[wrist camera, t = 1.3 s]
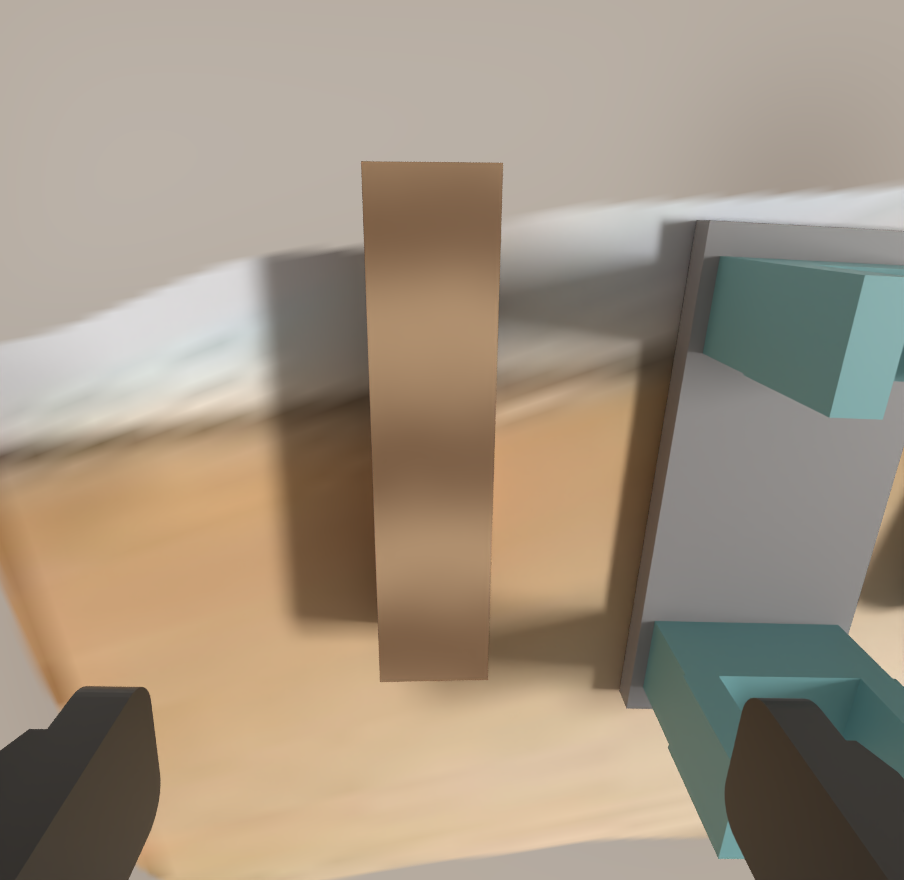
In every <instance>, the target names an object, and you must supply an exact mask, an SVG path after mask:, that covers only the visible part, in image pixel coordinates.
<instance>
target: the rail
mask: <svg viewBox="0 0 904 880" xmlns="http://www.w3.org/2000/svg"><path fill="white" fill-rule="evenodd" d="M361 169H362V197H363V226H364V253H365V281H366V308H367V336H368V363H369V391H370V418H371V446H372V473H373V501H374V528H375V556H376V583H377V611H378V638H379V666H380V682H402V681H451V680H488V649H489V615H490V582H491V549H492V515H493V482H494V448H495V415H496V381H497V348H498V314H499V281H500V248H501V213H502V180H503V163H466V162H460V163H459V162H370V161H362V162H361Z"/></svg>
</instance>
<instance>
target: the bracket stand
mask: <svg viewBox="0 0 904 880" xmlns="http://www.w3.org/2000/svg"><path fill="white" fill-rule="evenodd" d="M903 447H904V231H895V230H876V229H858V228H839V227H821V226H803V225H784V224H766V223H747V222H729V221H711V220H697V222H696V228H695V234H694V240H693V246H692V252H691V258H690V264H689V270H688V276H687V282H686V288H685V295H684V301H683V307H682V313H681V319H680V325H679V331H678V337H677V343H676V349H675V355H674V361H673V368H672V374H671V380H670V386H669V392H668V398H667V404H666V410H665V416H664V422H663V428H662V434H661V440H660V447H659V453H658V459H657V465H656V471H655V477H654V483H653V489H652V495H651V501H650V507H649V513H648V520H647V526H646V532H645V538H644V544H643V550H642V556H641V562H640V568H639V574H638V580H637V586H636V592H635V599H634V605H633V611H632V617H631V623H630V629H629V635H628V641H627V647H626V653H625V659H624V665H623V672H622V678H621V684H620V690H619V691H620V693H621V696H622V698H623V701H624V703H625V706H626V708H636V709H653V710H654V712H655V715H656V717H657V719H658V721H659V723H660V725H661V728H662V730H663V732H664V734H665V736H666V738H667V741H668V743H669V746H668V749H669V751H670V753H671V756H672V758H673V760H674V762H675V764H676V767H677V769H678V771H679V773H680V775H681V778H682V780H683V782H684V784H685V786H686V789H687V791H688V793H689V795H690V797H691V799H692V802H693V804H694V806H695V808H696V810H697V813H698V815H699V817H700V819H701V821H702V824H703V826H704V828H705V830H706V832H707V835H708V837H709V839H710V841H711V843H712V845H713V848H714V850H715V852H716V854H717V857H718V859H745V858H744V856H743V854H742V852H741V850H740V848H739V846H738V844H737V842H736V840H735V838H734V836H733V834H732V831H731V828H730V825H729V822H728V818H727V813H726V807H725V794H724V791H725V782H726V778H727V773H728V769H729V765H730V760H731V756H732V752H733V748H734V743H735V739H736V735H737V730H738V726H739V722H740V718H741V713H742V710H743V707H744V705H745V703H746V702H747V700H749V699H750V698H804V699H809V700H811V701H813V702H814V703H815V704H816V705H817V706H818V707H819V708H820V709H821V710H822V711H823V713H824V714H825V715H826V716H827V718H828V719H829V720H830V721H831V722H832V724H833V725H834V726H835V727H836V729H837V730H838V731H839V732H840V734H841V735H842V736H843V737H844V739H845V740H856V741H857V742H859V743H860V744H861V745H863V746H864V747H865V748H867V749H868V750H869V751H871V752H872V753H873V754H875V755H876V756H877V757H879V758H880V759H881V760H883V761H884V762H885V763H886V764H888V765H889V766H890V767H892V768H893V769H894V770H896V771H897V772H898V773H899V774H900V775H901V776H902V777H903V778H904V687H903V686H902V685H901V684H900V683H899V682H898V681H897V680H896V679H892V678H891V677H890V676H889V675H888V674H887V673H886V672H885V671H884V670H883V669H882V668H881V667H880V666H879V665H878V664H877V663H876V662H875V661H874V660H873V659H872V658H871V657H870V656H869V655H868V654H867V653H866V652H865V651H864V650H863V649H862V648H861V647H860V646H859V645H858V644H857V643H856V642H855V641H854V640H853V639H852V638H851V637H850V636H849V635H848V633H849V630H850V627H851V623H852V620H853V617H854V613H855V610H856V606H857V603H858V600H859V596H860V593H861V589H862V586H863V583H864V579H865V576H866V572H867V569H868V566H869V562H870V559H871V556H872V552H873V549H874V545H875V542H876V539H877V535H878V532H879V528H880V525H881V522H882V518H883V515H884V511H885V508H886V505H887V501H888V498H889V495H890V491H891V488H892V484H893V481H894V478H895V474H896V471H897V467H898V464H899V461H900V457H901V454H902V450H903Z"/></svg>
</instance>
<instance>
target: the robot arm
mask: <svg viewBox="0 0 904 880" xmlns="http://www.w3.org/2000/svg"><path fill="white" fill-rule="evenodd" d="M724 794H725V807H726V813H727V818H728V822H729V825H730V828H731V831H732V834H733V836H734V838H735V840H736V842H737V844H738V846H739V848H740V850H741V852H742V854H743V856H744V858H745V860H746V862H747V864H748V866H749V868H750V870H751V872H752V874H753V876H754V878H755V880H904V778H903V777H902V776H901V775H900V774H899V773H898V772H897V771H896V770H894V769H893V768H892V767H890V766H889V765H888V764H886V763H885V762H884V761H883V760H881V759H880V758H879V757H877V756H876V755H875V754H873V753H872V752H871V751H869V750H868V749H867V748H865V747H864V746H863V745H861V744H860V743H859V742H857V741H856V740H845V739H844V737H843V736H842V735H841V734H840V732H839V731H838V730H837V729H836V727H835V726H834V725H833V724H832V722H831V721H830V720H829V719H828V718H827V716H826V715H825V714H824V713H823V711H822V710H821V709H820V708H819V707H818V706H817V705H816V704H815V703H814V702H813V701H811V700H809V699H804V698H750V699H749V700H747V702H746V703H745V705H744V707H743V710H742V713H741V718H740V722H739V726H738V730H737V735H736V739H735V743H734V748H733V752H732V756H731V760H730V765H729V769H728V773H727V778H726V782H725V791H724ZM159 795H160V770H159V762H158V754H157V746H156V738H155V730H154V722H153V713H152V705H151V699H150V695H149V692H148V691H147V689H146V688H144V687H101V686H85V687H82V688H80V689H79V690H77V691H76V692H75V693H74V695H73V696H72V697H71V698H70V700H69V701H68V702H67V704H66V705H65V706H64V708H63V709H62V710H61V712H60V713H59V714H58V716H57V717H56V718H55V720H54V721H53V722H52V724H51V725H50V726H49V727H48V729H29V730H28V731H26V732H25V733H23V734H22V735H21V736H19V737H18V738H17V739H15V740H14V741H13V742H11V743H10V744H9V745H7V746H6V747H4V748H3V749H2V750H0V880H128V879H129V877H130V875H131V873H132V870H133V868H134V866H135V864H136V862H137V860H138V857H139V855H140V853H141V851H142V849H143V846H144V844H145V842H146V840H147V838H148V835H149V833H150V831H151V828H152V825H153V822H154V819H155V816H156V812H157V807H158V802H159Z"/></svg>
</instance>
